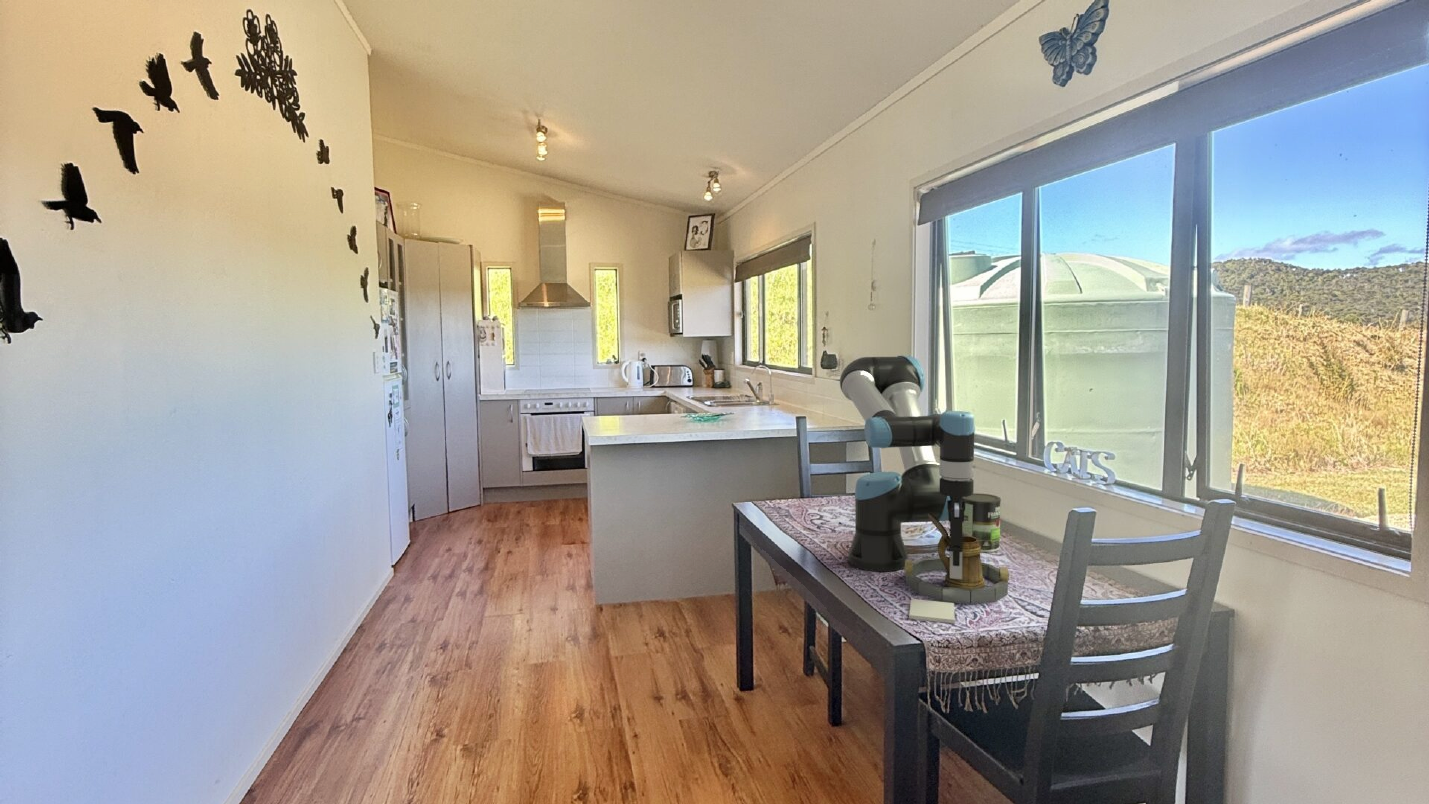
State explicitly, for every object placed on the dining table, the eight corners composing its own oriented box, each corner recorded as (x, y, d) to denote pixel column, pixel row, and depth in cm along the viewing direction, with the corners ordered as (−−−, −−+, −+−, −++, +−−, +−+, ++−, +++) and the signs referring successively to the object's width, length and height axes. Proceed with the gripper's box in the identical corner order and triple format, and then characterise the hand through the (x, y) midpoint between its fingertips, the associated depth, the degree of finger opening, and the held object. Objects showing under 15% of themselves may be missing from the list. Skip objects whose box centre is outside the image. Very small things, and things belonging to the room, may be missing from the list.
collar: (902, 597, 154) (902, 578, 153) (907, 565, 175) (907, 548, 174) (1012, 608, 146) (1012, 588, 146) (1003, 573, 168) (1004, 555, 167)
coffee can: (1006, 546, 188) (1007, 497, 187) (988, 555, 181) (989, 503, 180) (971, 538, 196) (972, 491, 194) (953, 546, 189) (953, 497, 188)
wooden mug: (920, 579, 165) (921, 507, 163) (975, 577, 165) (976, 505, 164) (934, 593, 156) (934, 517, 154) (991, 591, 157) (993, 515, 155)
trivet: (909, 618, 142) (909, 615, 142) (911, 602, 151) (911, 599, 151) (954, 623, 140) (954, 619, 140) (953, 606, 148) (953, 603, 148)
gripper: (975, 488, 147) (974, 589, 149) (971, 469, 167) (970, 558, 169) (939, 486, 149) (938, 585, 152) (939, 468, 169) (939, 556, 171)
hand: (955, 571), depth 160 cm, fingers open, 8 cm apart
